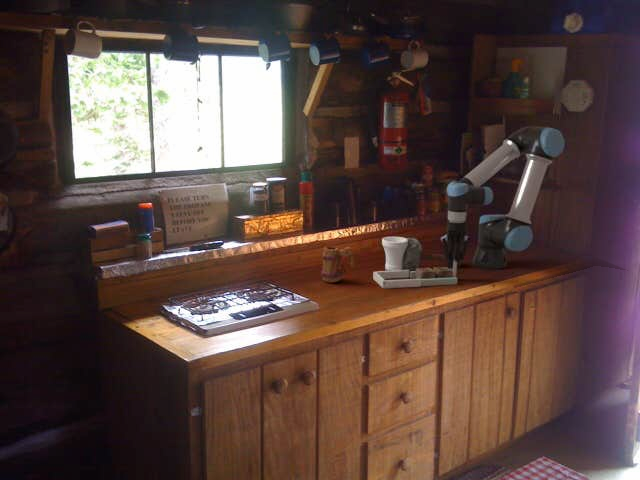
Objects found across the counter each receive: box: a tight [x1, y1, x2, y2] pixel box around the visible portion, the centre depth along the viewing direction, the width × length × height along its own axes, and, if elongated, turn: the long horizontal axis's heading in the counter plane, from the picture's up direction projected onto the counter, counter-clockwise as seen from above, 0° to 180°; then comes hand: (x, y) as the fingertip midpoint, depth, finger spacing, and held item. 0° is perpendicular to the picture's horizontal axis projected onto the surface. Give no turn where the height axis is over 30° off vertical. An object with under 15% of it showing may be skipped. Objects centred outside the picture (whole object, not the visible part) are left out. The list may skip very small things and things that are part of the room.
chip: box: [432, 266, 453, 278], centre depth 291 cm, size 6×6×5 cm
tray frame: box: [372, 270, 421, 289], centre depth 287 cm, size 16×14×3 cm
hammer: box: [402, 237, 463, 272], centre depth 308 cm, size 15×10×30 cm
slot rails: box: [409, 270, 458, 287], centre depth 291 cm, size 16×13×2 cm
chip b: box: [415, 267, 435, 279], centre depth 290 cm, size 6×6×5 cm
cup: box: [381, 236, 408, 271], centre depth 302 cm, size 11×11×14 cm
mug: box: [320, 245, 356, 283], centre depth 285 cm, size 15×8×15 cm, turn 70°
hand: (453, 275), depth 293 cm, fingers closed
